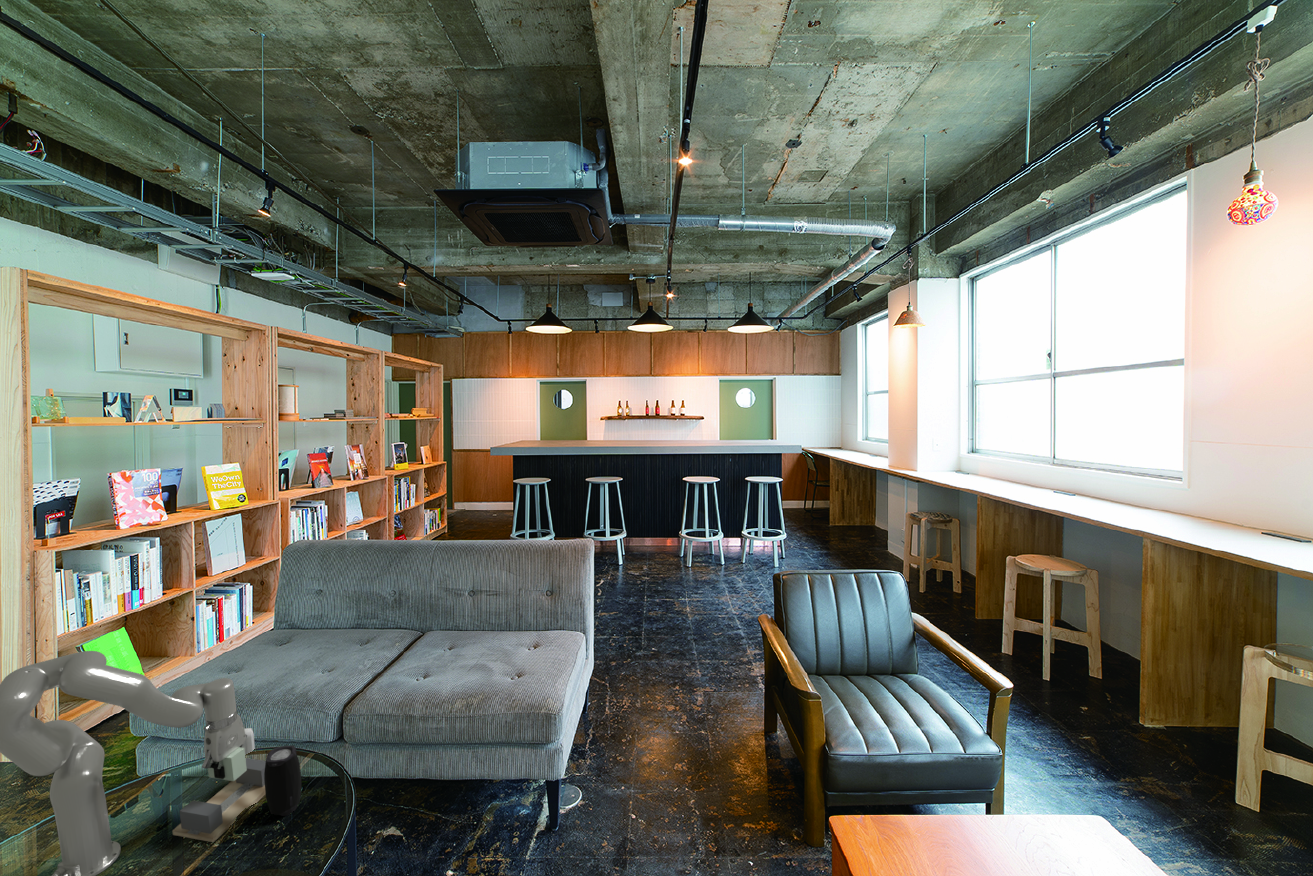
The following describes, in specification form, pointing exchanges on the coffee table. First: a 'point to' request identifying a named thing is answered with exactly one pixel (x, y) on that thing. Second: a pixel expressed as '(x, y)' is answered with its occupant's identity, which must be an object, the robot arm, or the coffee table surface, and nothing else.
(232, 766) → the block
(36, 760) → the robot arm
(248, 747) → the photo printer
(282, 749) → the portable speaker
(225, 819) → the rail board
